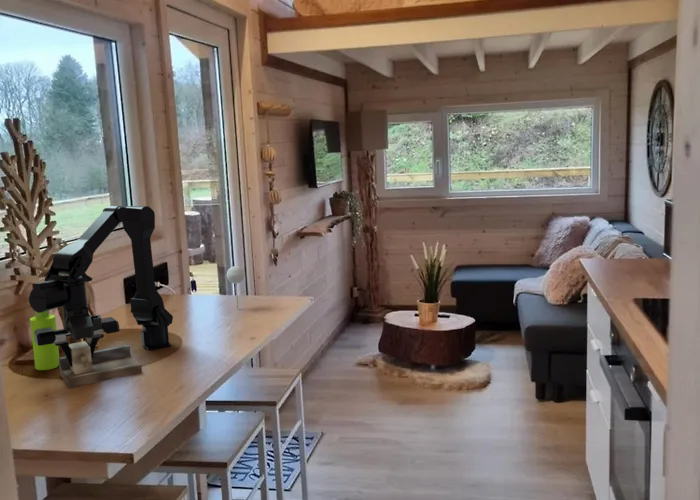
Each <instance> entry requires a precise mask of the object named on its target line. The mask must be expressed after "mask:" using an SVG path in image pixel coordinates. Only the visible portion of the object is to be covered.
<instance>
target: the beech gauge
mask: <svg viewBox="0 0 700 500" xmlns="http://www.w3.org/2000/svg"><path fill="white" fill-rule="evenodd" d="M69 349H70V353H71V357H72V367H71V366H70V368H71V370H72V371H73V372H74V373H75V374H79V373H84V372H89V371H93V370H92V360H91V350H90V346H89V345H88V344H87V341H79V342H73V343H69Z"/></svg>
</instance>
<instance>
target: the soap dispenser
mask: <svg viewBox="0 0 700 500" xmlns="http://www.w3.org/2000/svg"><path fill="white" fill-rule="evenodd" d="M33 311H34V310H33ZM29 323H30V333H31V334H30V335H31V341H32V342H31V343H32V350H33V359H34V369H36V371H49V370H52V369H55V368H58V367H60V365H59V358H60V352H59V346H55V345H54V343H53V344H47V345H42V346H38V345H37V344H36V342H35V341H34V331H35V330H36V329H41V328H47V327H51V328H52V329H53V330H57V322H56V316H55V314H50V310H48V311H45V312H41V313H38V312H36V311H34V316H32V317H30V318H29Z"/></svg>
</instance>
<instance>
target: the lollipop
mask: <svg viewBox="0 0 700 500" xmlns="http://www.w3.org/2000/svg"><path fill="white" fill-rule="evenodd" d="M244 278H245V272H244V270H243V268H241V266H237V265H234V266H231V267H230V268H228V269H227V272H226V279H227V280H228V281H229V282H230V283H232V284H234V285H235V299H236V300H235V301H236V302H235V304H236V310H237V311H238V310H239V302H238V301H239V300H238V297H239V296H238V284H240V283H241V282H243V280H244Z"/></svg>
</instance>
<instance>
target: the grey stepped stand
mask: <svg viewBox="0 0 700 500" xmlns="http://www.w3.org/2000/svg"><path fill="white" fill-rule="evenodd" d="M59 365H60V366H59V372H60V373H59V374H60V377H61V378H62V379H63V381H64V382H65V384H66V385H67V386H68V388H70V389H71V388H76V387H80V386H85V385H90V384H94V383H95V384H96V383H98V382H99V383H100V382H105V381H109V380H114V379H119V378H123V377H128V376H132V375H136V374H137V375H138V374H141V373H143V368H142V366H143V365H142V364H141V363H140V362H139V361H138V360H137V359H135V357H133V356H132V355H131V346H130V345H129V344H125V345H121V346H120V345H119V346H115V347H114V346H113V347H108V348H104V349H99V350H94V354H93V357H92V370H93V371H89V372H84V373H79V374H75V373H74V372H73V371H72V370H71V368H70V364H69V362H68V360H67V358H66V356H62V357H59Z"/></svg>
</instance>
